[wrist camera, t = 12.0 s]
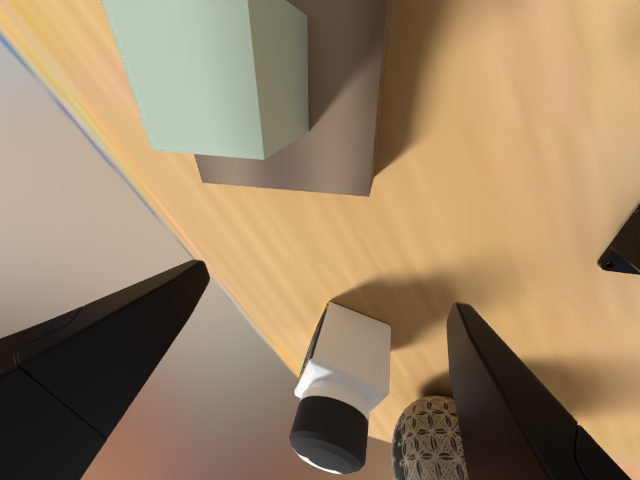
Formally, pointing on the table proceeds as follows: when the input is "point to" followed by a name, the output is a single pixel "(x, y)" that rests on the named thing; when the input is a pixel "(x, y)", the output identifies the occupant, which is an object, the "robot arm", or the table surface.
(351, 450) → the medicine bottle
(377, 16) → the walnut block
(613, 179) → the table surface
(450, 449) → the decorative egg
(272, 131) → the sage pill box
